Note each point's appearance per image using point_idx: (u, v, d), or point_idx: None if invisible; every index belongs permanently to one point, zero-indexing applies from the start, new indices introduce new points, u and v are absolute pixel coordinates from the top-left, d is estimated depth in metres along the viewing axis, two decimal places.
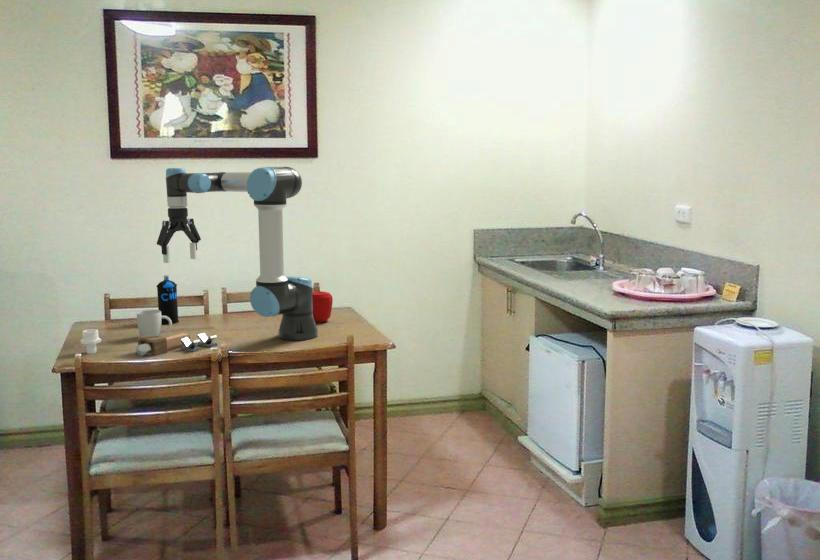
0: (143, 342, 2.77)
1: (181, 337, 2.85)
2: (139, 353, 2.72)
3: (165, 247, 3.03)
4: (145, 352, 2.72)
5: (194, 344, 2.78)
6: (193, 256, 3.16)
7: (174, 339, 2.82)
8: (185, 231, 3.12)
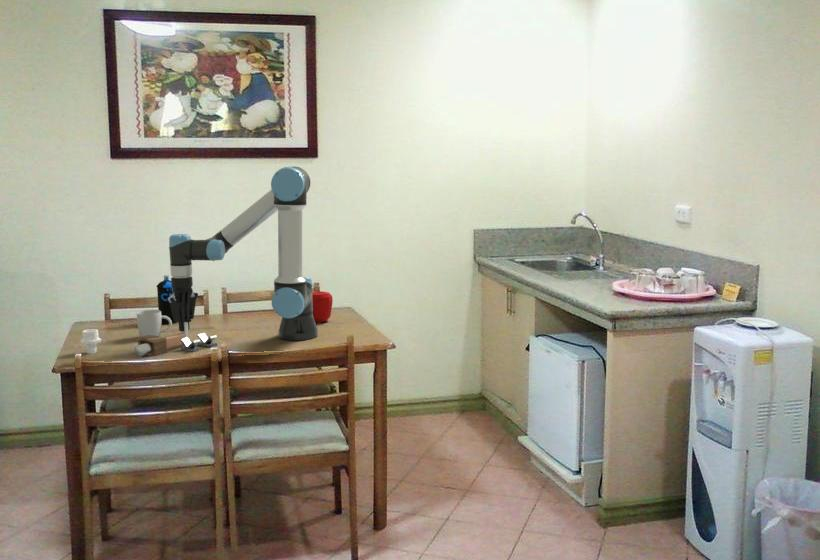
0: (143, 342, 2.77)
1: (178, 337, 2.84)
2: (137, 353, 2.71)
3: (182, 323, 2.87)
4: (144, 353, 2.71)
5: (194, 344, 2.78)
6: None
7: (171, 339, 2.81)
8: (184, 303, 2.87)
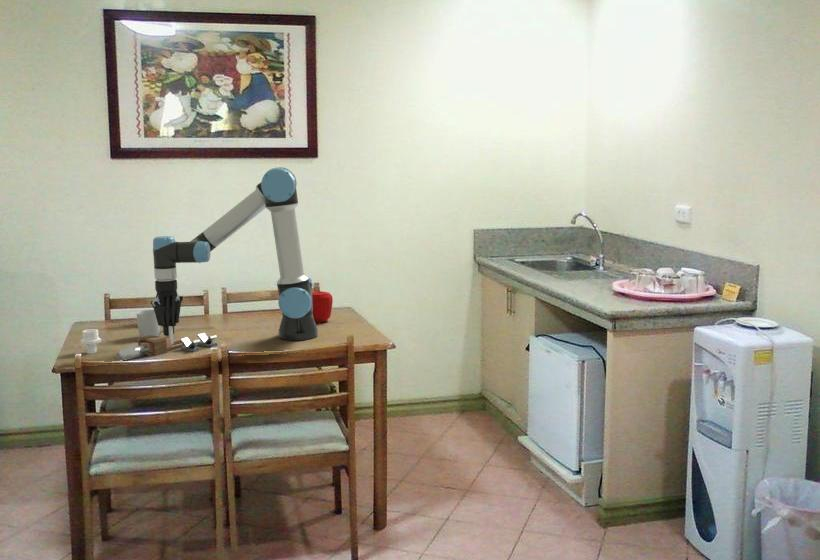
0: None
1: None
2: (119, 358, 2.65)
3: (167, 328, 2.80)
4: (126, 358, 2.65)
5: (194, 344, 2.78)
6: None
7: None
8: (169, 307, 2.81)
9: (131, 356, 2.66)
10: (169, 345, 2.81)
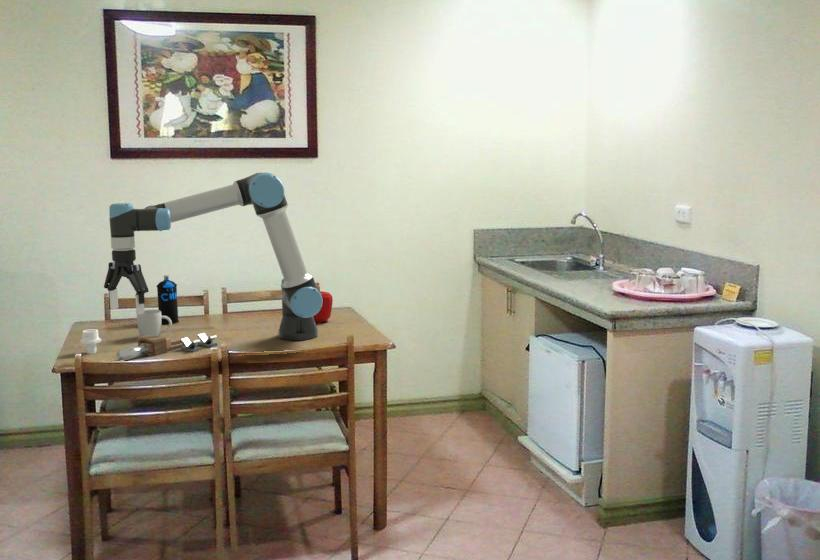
0: (143, 342, 2.77)
1: None
2: (119, 358, 2.65)
3: None
4: (126, 359, 2.65)
5: (194, 344, 2.78)
6: None
7: None
8: None
9: (131, 357, 2.66)
10: (169, 346, 2.81)
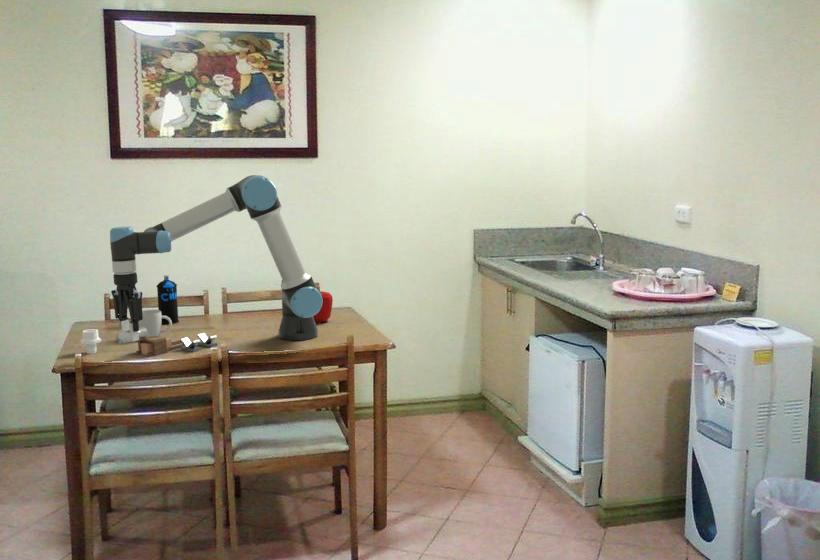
0: (143, 342, 2.77)
1: None
2: (119, 340, 2.64)
3: None
4: (125, 340, 2.64)
5: (194, 344, 2.78)
6: None
7: None
8: None
9: (130, 338, 2.66)
10: (169, 346, 2.81)
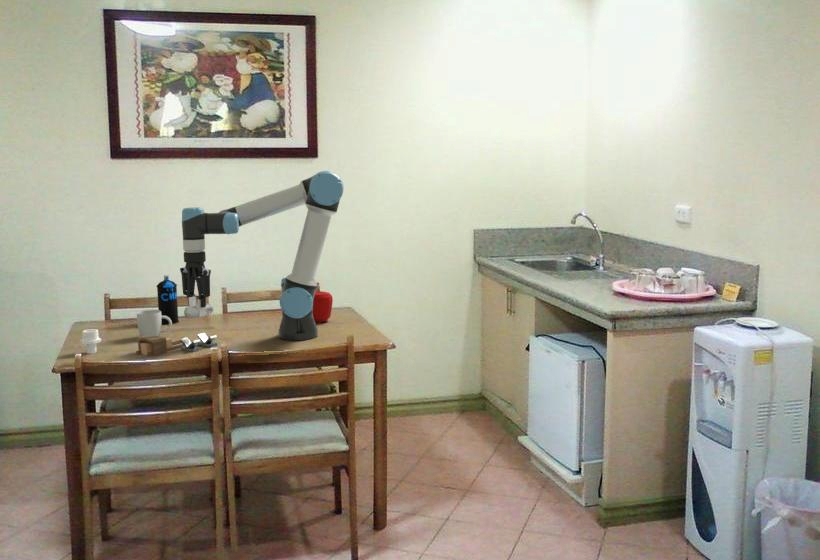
0: (143, 342, 2.77)
1: None
2: (187, 315, 2.78)
3: (189, 298, 2.81)
4: (193, 315, 2.77)
5: (194, 344, 2.78)
6: None
7: None
8: None
9: (197, 314, 2.79)
10: (170, 346, 2.80)
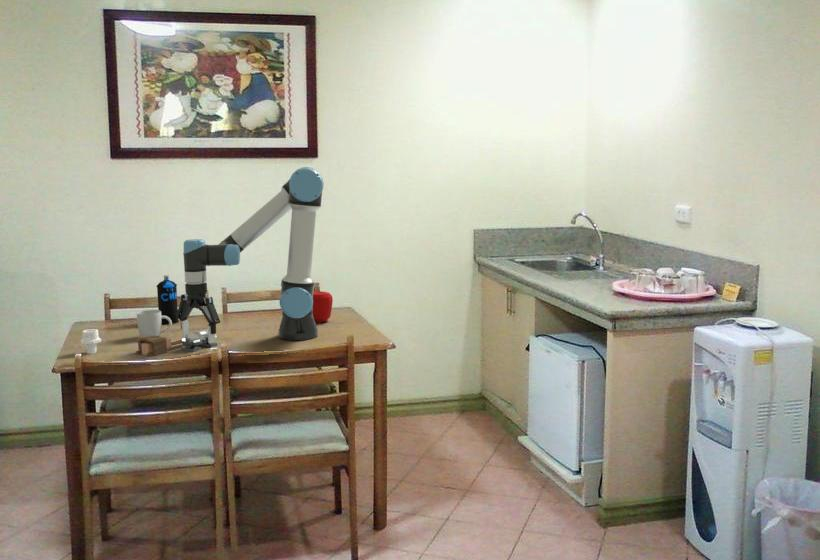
0: (143, 342, 2.77)
1: None
2: (188, 341, 2.79)
3: None
4: None
5: (194, 344, 2.78)
6: None
7: None
8: None
9: None
10: (169, 345, 2.81)
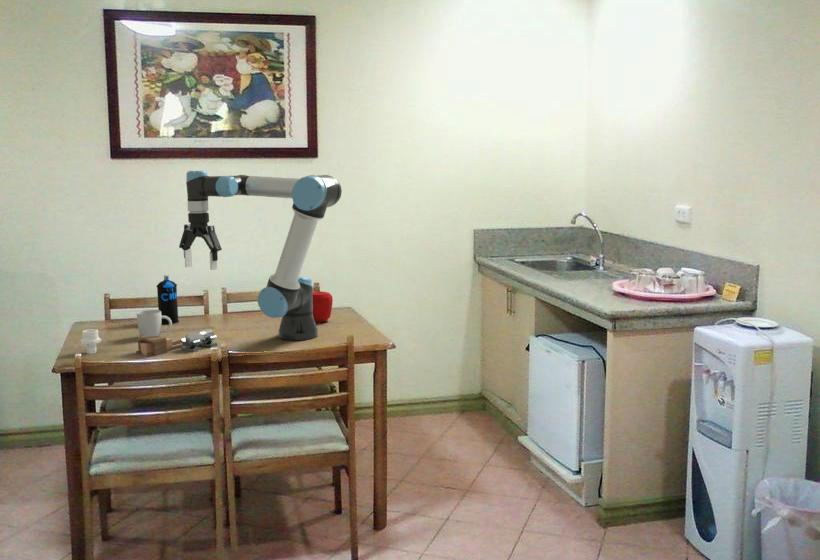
0: (143, 342, 2.77)
1: None
2: (188, 341, 2.79)
3: None
4: None
5: (194, 344, 2.78)
6: None
7: None
8: None
9: None
10: (170, 346, 2.80)
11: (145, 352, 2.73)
